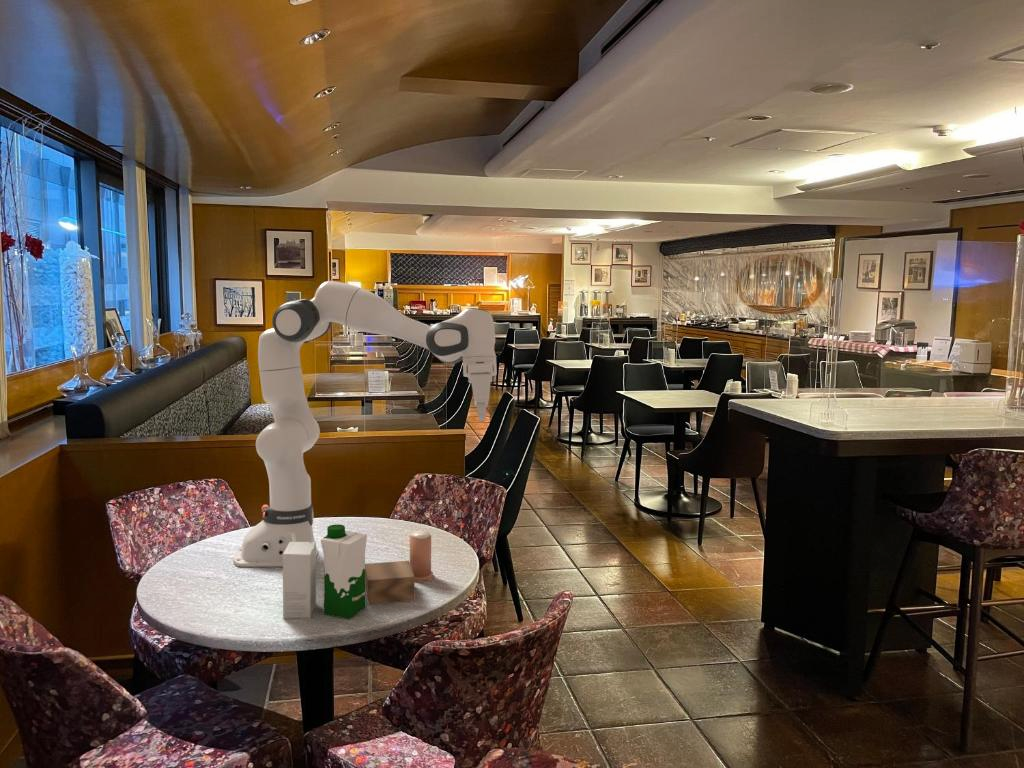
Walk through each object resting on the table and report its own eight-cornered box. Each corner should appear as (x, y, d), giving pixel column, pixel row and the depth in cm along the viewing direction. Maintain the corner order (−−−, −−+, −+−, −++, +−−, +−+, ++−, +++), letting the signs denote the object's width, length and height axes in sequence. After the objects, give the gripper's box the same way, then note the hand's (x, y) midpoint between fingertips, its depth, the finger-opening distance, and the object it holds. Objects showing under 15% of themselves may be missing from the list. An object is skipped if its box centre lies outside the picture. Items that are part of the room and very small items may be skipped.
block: (368, 604, 178) (368, 580, 178) (365, 586, 189) (364, 563, 188) (414, 600, 181) (414, 576, 180) (408, 583, 192) (408, 560, 191)
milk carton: (339, 600, 180) (338, 520, 178) (371, 606, 177) (371, 525, 175) (317, 615, 172) (316, 531, 169) (351, 621, 169) (350, 536, 166)
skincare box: (290, 604, 178) (288, 541, 176) (318, 603, 178) (317, 540, 176) (282, 619, 169) (280, 553, 167) (312, 619, 170) (310, 553, 168)
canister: (409, 582, 192) (409, 538, 190) (406, 573, 198) (406, 530, 197) (434, 580, 194) (435, 536, 192) (430, 571, 200) (431, 528, 198)
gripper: (468, 373, 207) (470, 423, 206) (467, 365, 187) (470, 421, 186) (490, 372, 208) (493, 422, 207) (492, 364, 187) (495, 419, 186)
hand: (482, 421), depth 196 cm, fingers open, 8 cm apart
